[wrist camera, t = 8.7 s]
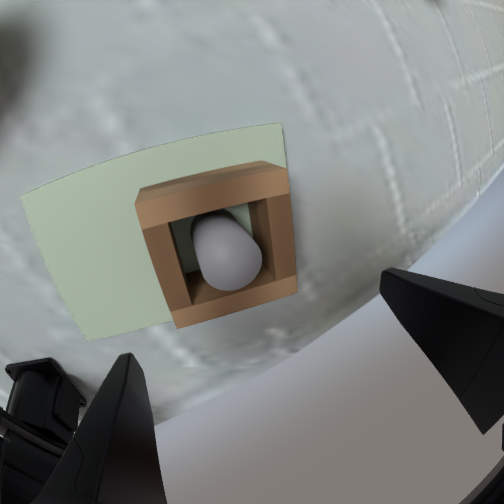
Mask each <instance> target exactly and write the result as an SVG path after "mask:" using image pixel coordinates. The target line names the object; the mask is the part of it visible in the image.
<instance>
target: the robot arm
mask: <svg viewBox="0 0 504 504" xmlns="http://www.w3.org/2000/svg"><path fill="white" fill-rule="evenodd" d="M379 290H380V294H381V295H382V297H383V298H384V300H385V301H386V303H387V304H388V306H389V307H390V309H391V310H392V312H393V313H394V314H395V316H396V318H397V319H398V320H399V322H400V323H401V324H402V326H403V327H404V328H405V330H406V331H407V332H408V333H409V334H410V336H411V337H412V338H413V339H414V341H415V342H416V343H417V344H418V346H419V347H420V348H421V349H422V351H423V352H424V353H425V355H426V356H427V357H428V358H429V360H430V361H431V362H432V363H433V365H434V366H435V368H436V369H437V370H438V372H439V373H440V374H441V376H442V377H443V378H444V380H445V381H446V382H447V384H448V385H449V386H450V388H451V389H452V391H453V392H454V393H455V395H456V396H457V397H458V398H459V400H460V402H461V404H462V405H463V406H464V408H465V409H466V411H467V412H468V414H469V415H470V417H471V418H472V420H473V421H474V423H475V424H476V426H477V427H478V429H479V430H480V432H481V433H482V434H483V435H484V434H485V433H486V432H487V431H488V430H489V429H490V428H491V427H492V426H493V425H494V424H495V423H496V422H497V421H498V420H499V419H500V418H501V417H502V416H503V415H504V294H501V293H496V292H491V291H486V290H482V289H478V288H474V287H473V288H472V287H470V286H466V285H462V284H458V283H454V282H450V281H446V280H442V279H437V278H434V277H429V276H426V275H421V274H417V273H413V272H409V271H405V270H401V269H396V268H388V269H386V270H384V271H382V273H381V280H380V288H379ZM5 371H6V373H7V374H8V375H9V376H10V377H11V379H12V380H13V381H14V383H13V386H12V390H11V393H10V396H9V400H8V404H7V407H6V411H5V410H3V408H2V407H0V434H1V435H2V436H3V438H2V437H1V436H0V504H167V500H166V496H165V491H164V486H163V481H162V476H161V470H160V465H159V459H158V452H157V446H156V439H155V431H154V423H153V415H152V410H151V406H150V401H149V396H148V392H147V387H146V381H145V376H144V372H143V370H142V368H141V366H140V365H139V363H138V361H137V360H136V358H135V357H134V355H133V354H132V353H125V354H121V355H119V356H118V358H117V360H116V361H115V363H114V365H113V366H112V368H111V370H110V371H109V373H108V375H107V376H106V378H105V380H104V381H103V383H102V385H101V387H100V388H99V390H98V392H97V394H96V395H95V397H94V399H93V401H92V402H91V404H90V406H89V408H88V409H87V411H86V413H85V415H84V417H83V419H82V420H81V422H80V424H79V426H78V416H79V408H80V407H86V406H87V401H86V400H85V399H84V398H83V396H82V395H81V394H80V393H79V392H78V391H77V390H76V389H75V387H74V386H73V385H72V384H71V383H70V381H69V380H68V379H67V378H66V377H65V375H64V374H63V373H62V372H61V370H60V369H59V368H58V367H57V365H56V364H55V363H54V361H53V360H51V359H49V358H46V359H40V360H35V361H29V362H23V363H17V364H11V365H6V368H5ZM502 426H503V427H502V428H503V429H502V450H503V451H504V423H503V425H502ZM74 432H75V434H74ZM459 504H504V456H503V457H502V459H501V460H500V461H499V462H498V464H497V465H496V466H495V467H494V468H493V469H492V470H491V472H490V473H489V474H488V475H487V476H486V477H485V478H484V479H483V480H482V481H481V483H480V484H479V485H478V486H477V487H476V488H475V489H474V490H473V491H472V492H471V493H470V494H469V495H468V496H467V497H466V498H465V499H463V500H462V501H461V502H460V503H459Z"/></svg>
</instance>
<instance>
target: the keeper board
mask: <svg viewBox="0 0 504 504" xmlns="http://www.w3.org/2000/svg"><path fill="white" fill-rule="evenodd" d="M260 160H262V161H266V162H269V163H272V164H275V165H278V166H281V167H284V168H287V167H286V159H285V151H284V143H283V135H282V128H281V123H274V124H266V125H259V126H252V127H245V128H239V129H233V130H227V131H222V132H216V133H211V134H206V135H201V136H197V137H192V138H188V139H183V140H179V141H175V142H171V143H167V144H163V145H159V146H155V147H152V148H148V149H144V150H141V151H137V152H134V153H131V154H127V155H124V156H121V157H118V158H115V159H112V160H109V161H106V162H103V163H100V164H97V165H94V166H91V167H89V168H86V169H83V170H81V171H78V172H75V173H73V174H70V175H68V176H65V177H63V178H60V179H58V180H55V181H53V182H51V183H48V184H46V185H44V186H42V187H39V188H37V189H35V190H33V191H31V192H29V193H26V194H25V195H23V196H21V201H22V204H23V207H24V210H25V213H26V216H27V219H28V222H29V225H30V228H31V230H32V233H33V236H34V238H35V241H36V243H37V246H38V248H39V251H40V253H41V255H42V258H43V260H44V262H45V265H46V267H47V269H48V271H49V273H50V275H51V278H52V280H53V282H54V284H55V286H56V288H57V290H58V292H59V294H60V296H61V298H62V299H63V301H64V303H65V305H66V307H67V309H68V310H69V312H70V314H71V316H72V318H73V319H74V321H75V323H76V324H77V326H78V328H79V329H80V331H81V333H82V334H83V336H84V338H85V339H86V341H87V342H88V341H93V340H97V339H101V338H105V337H110V336H114V335H118V334H122V333H126V332H130V331H134V330H138V329H142V328H145V327H149V326H153V325H157V324H161V323H164V322H168V321H172V320H173V318H172V315H171V313H170V310H169V308H168V305H167V303H166V300H165V297H164V295H163V292H162V289H161V287H160V284H159V281H158V278H157V275H156V273H155V270H154V267H153V264H152V261H151V258H150V255H149V252H148V249H147V246H146V243H145V239H144V236H143V233H142V230H141V226H140V223H139V220H138V216H137V213H136V209H135V205H134V203H135V201H136V198H137V195H138V193H139V190H140V188H143V187H147V186H150V185H154V184H157V183H161V182H165V181H169V180H173V179H176V178H180V177H184V176H189V175H193V174H197V173H201V172H206V171H210V170H215V169H219V168H224V167H229V166H234V165H239V164H244V163H249V162H254V161H260ZM171 225H172V229H173V232H174V236H175V240H176V243H177V247H178V251H179V254H180V258H181V261H182V264H183V268H184V271H185V273H189V272H193V271H196V270H200V269H201V271H202V274H203V277H204V279H205V280H206V281H207V283H208V284H209V285H211V286H212V287H214V288H216V289H219V290H223V291H233V290H238V289H240V288H243V287H245V286H246V285H248V284H249V283H250V282H252V281H253V280H254V278H255V277H256V276H257V274H258V273H259V271H260V268H261V264H262V254H261V251H260V248H259V247H258V245H257V244H256V243H255V241H254V240H253V235H252V228H251V222H250V215H249V209H248V202H247V203H243V204H238V205H234V206H230V207H226V208H222V209H218V210H214V211H210V212H206V213H202V214H198V215H194V216H190V217H186V218H182V219H179V220H175V221H171ZM295 261H296V260H295ZM296 276H297V274H296Z"/></svg>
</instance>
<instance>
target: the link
mask: <svg viewBox="0 0 504 504" xmlns="http://www.w3.org/2000/svg"><path fill="white" fill-rule="evenodd" d="M247 202H248V209H249V215H250V222H251V228H252V235H253V240H254V241H255V243H256V244H257V245H258V247H259V248H260V251H261V254H262V264H261V268H260V271H259V273H258V274H257V276H256V277H255V278H254V280H253V281H252V282H250V283H249V284H248V285H246V286H245V287H243V288H240V289H238V290H233V291H223V290H219V289H216V288H214V287H212V286H211V285H209V284H208V283H207V281H206V280H205V279H204V277H203V274H202V271H201V269H200V270H196V271H193V272H189V273H185V271H184V268H183V264H182V261H181V258H180V254H179V251H178V247H177V243H176V240H175V236H174V232H173V229H172V225H171V221H175V220H179V219H182V218H186V217H190V216H194V215H198V214H202V213H206V212H210V211H214V210H218V209H222V208H226V207H230V206H234V205H238V204H243V203H247ZM134 205H135V209H136V213H137V216H138V220H139V223H140V226H141V230H142V233H143V236H144V239H145V243H146V246H147V249H148V252H149V255H150V258H151V261H152V264H153V267H154V270H155V273H156V275H157V278H158V281H159V284H160V287H161V289H162V292H163V295H164V297H165V300H166V303H167V305H168V308H169V310H170V313H171V315H172V318H173V320H174V323H175V325H176V328H177V329H179V328H182V327H186V326H190V325H193V324H197V323H200V322H204V321H207V320H211V319H214V318H218V317H221V316H225V315H228V314H231V313H235V312H238V311H241V310H245V309H248V308H251V307H254V306H257V305H261V304H264V303H267V302H270V301H273V300H276V299H279V298H282V297H285V296H288V295H291V294H294V293H297V276H296V261H295V248H294V235H293V223H292V212H291V201H290V191H289V181H288V172H287V168H284V167H281V166H278V165H275V164H272V163H269V162H266V161H262V160H260V161H254V162H249V163H244V164H239V165H234V166H229V167H224V168H219V169H215V170H210V171H206V172H201V173H197V174H193V175H189V176H184V177H180V178H176V179H173V180H169V181H165V182H161V183H157V184H154V185H150V186H147V187H143V188H140V190H139V193H138V195H137V198H136V201H135V203H134Z"/></svg>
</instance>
